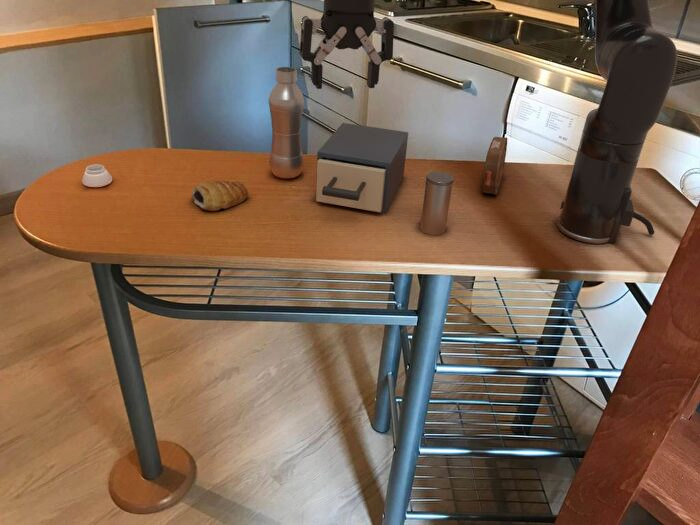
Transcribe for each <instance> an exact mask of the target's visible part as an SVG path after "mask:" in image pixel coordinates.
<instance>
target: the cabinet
mask: <svg viewBox="0 0 700 525" xmlns="http://www.w3.org/2000/svg"><path fill="white" fill-rule="evenodd" d="M408 140H409V132H408V131H403V130H396V129H389V128H381V127H374V126H368V125H361V124H354V123H349V122H342V123H341V124H340V125H339V127H338V128H337V129H336V130H335V131H334V132H333V133H332V135H330V137H329V138H328V139H327V140H326V141H325V143H324V144H323V145H321V147H320V148H319V149H318V150H317V152H316V153H317V154H316V162H317V161H318V160H319V159H323V160H326V158H331V159H337V160H343V161H350V162H356V163H362V164H368V165H374V166H381V167H385V170H386V172H385V183H384V194H383V204H382V210H381V212H380V213H382V214H387V212H388V210H389V208H390V206H391V204H392V202H393V201H394V200H393V199H394V198H395V196H396V194H397V192H398V190H399V188H400V186H401V184H402V182H403V180H404V176H405V175H404V174H405V169H406V168H405V167H406V159H407V158H406V157H407V149H408ZM315 186H316V187H315V189H316V190H317V181H316V185H315ZM316 190H315V191H316Z"/></svg>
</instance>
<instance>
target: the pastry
mask: <svg viewBox="0 0 700 525" xmlns="http://www.w3.org/2000/svg"><path fill="white" fill-rule="evenodd" d="M248 196H249V192H248V188H247V187H246V186H245V184H244V183H241V182H238V181H232V182H231V181H230V180H214V179H211V180H209V182H208V181H202V182H200V184H196V185H194V187H193V189H192V191H191V198H192V200H193V203H194V204H195V205H196V206H198V207H200V208H201V209H202V210H205V211H210V212H216V211H219V210H220V209H224V210H225V209H228V208H231V207H235V206H236V205H239V204H241V203H242V202H244V201H245V200H246V199H247V198H248Z"/></svg>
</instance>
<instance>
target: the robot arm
mask: <svg viewBox="0 0 700 525" xmlns="http://www.w3.org/2000/svg"><path fill="white" fill-rule="evenodd" d="M594 3H595V28H594V29H595V32H594V33H595V34H594V60H595V65H596V68H597V69H596V70H598V73H599V75H600V76H601V78H602V79H603V80H604V81H606V83H605V86H604V90H603V92H602V96H601V98H600V102H599V105H598V107H597V108H594V109H592V110H590V111H589V112H588V114H587V116H586V117H585V121H584V125H583V129H582V132H581V136H580V140H579V143H578V148H577V151H576V154H575V158H574V162H573V166H572V170H571V174H570V178H569V181H568V185H567V190H566V193H565V197H564V200H563V201H562V202H561V203H560V207H559V210H561V211H560V213H559V214H560V215H559V218H558V220H557V225H556V226H557V228H558V230H559V231H560V232H561V233H562V234H564V235H565V236H567V237H569V238H571V239H573V240H576V241H579V242H582V243H588V244H597V245H598V244H607V243H611V244H615V243H616V242H617V239H618V235H619V232H620V230H621V226H624V227H629V228H630V227H631V224H632V221H633V219H634V220H637V221H639V222H641V223H642V224H643V225H644V226H645V227H646V230H647V233H648V235H649V236H653V235H655V230H654V226H653V224H652V223H651V221H650V220H649V219H647V218H646V217H645V216H643V215H641V214H640V213H637V212H636V211H635V210H634V204H633V201H632V199H631V196H632V192H633V189H632V186H631V185H632V181H633V179H634V176H635V172H636V169H637V167H638V163H639V161H640V157H641V154H642V151H643V147H644V144H645V142H646V139H647V137H648V136H647V135H648V134H649V131H650V130H651V129H652V128H653V127H654V125H655V124H656V123H657V121H658V119H659V117H660V114H661V112H662V110H663V107H664V104H665V101H666V99H667V96H668V93H669V91H670V88H671V85H672V83H673V80H674V76H675V74H676V70H677V65H678V50H677V47H676V44H675V43H674V41H673V40H672V39H671V37H669V36H668V35H666V34H664V33H663V32H661V31H659V30H657V29H655V28H654V26H653V22H652V16H651V10H650V9H651V8H650V0H595V2H594ZM375 4H376V3H375V0H323V11H322V12H323V13H322V16H321V18H311V17H309V16H308V15H304V16H302V18H301V25H300V26H301V27H300V40H299V56H300V57H301V58H302V60H303V61H304V62H309V63H311V66H310V69H311V70H310V80H311V83H312V85H313V86H314V87H315V88H316V90H322V89H323V70H324V69H323V68H324V66H323V64H322V63H323V62H324V60H325V59H326V58H327V57H328V55H330V54H331V53H332V52H333V51H334V49H337V50H346V49H351V50H359V48H362V49H363V50H364V51H365V54H367V56H368V58H369V61H368V62H367V63H368V64H367V74H366V86H367V87H368V88H369V89H375V87H376V85H378V84H379V81H380V69H381V68H380V67H381V64H382V63H384V62H386V61H391V60H392V59H394V58H393V57H394V34H395V33H394V32H395V29H394V28H395V23H394V21H393V20H392V19H391V18H390V17H388V16H384V17H383V18H379V19H378V18H377V19H375ZM319 28H321V30H322V32H323V33H324V36H323V38H322V39H321V40H320V41H319V43H318V46H317V47H316V48H315V50H314V51H312V40H313V39H312V38H313V35H315V34H316V33H317V31H318V29H319ZM376 28H377V31H378V33H380V35H381V37H380V39H381V40H380V45H381V46H380V51H377V50H376V48H375V46H374V44H373V43H372V42H371V40H370V36H371V35H372V34H373V32H374V31H375V30H376Z"/></svg>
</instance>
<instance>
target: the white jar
mask: <svg viewBox="0 0 700 525" xmlns="http://www.w3.org/2000/svg"><path fill="white" fill-rule="evenodd" d="M81 178H82V179H81V183H82V184H83V186H85V187H89V188H101V187H105V186H107V185H110V184H111V183H112V182H113V176H112V175H111V173H110V172H109V170H107V169H106V168H105V166H104V165H102V164H96V163H95V164H90V165H88V166H86V168H85V171H84V173H83V176H82V177H81Z"/></svg>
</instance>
